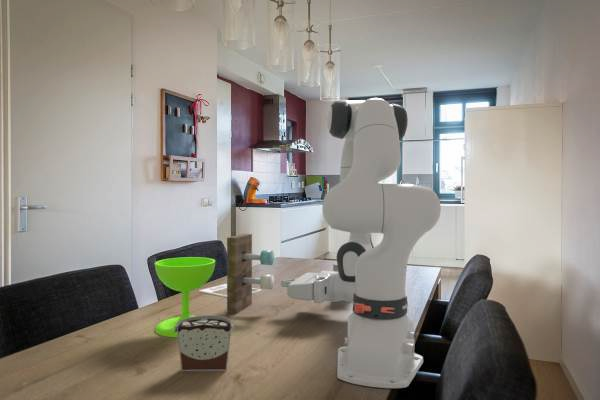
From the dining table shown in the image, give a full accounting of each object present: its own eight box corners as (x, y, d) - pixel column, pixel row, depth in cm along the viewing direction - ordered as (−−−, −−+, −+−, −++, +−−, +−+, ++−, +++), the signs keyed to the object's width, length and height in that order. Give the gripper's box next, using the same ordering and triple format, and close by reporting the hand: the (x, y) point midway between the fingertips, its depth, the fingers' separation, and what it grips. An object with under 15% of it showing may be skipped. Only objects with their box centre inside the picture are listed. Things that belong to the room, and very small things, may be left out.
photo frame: (227, 283, 172) (262, 289, 162) (227, 285, 172) (262, 292, 162) (198, 289, 160) (234, 297, 150) (198, 292, 160) (234, 300, 150)
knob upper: (274, 263, 137) (274, 249, 137) (269, 266, 133) (269, 251, 132) (237, 261, 140) (237, 248, 140) (231, 264, 136) (231, 250, 136)
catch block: (251, 303, 143) (251, 234, 143) (236, 313, 132) (236, 237, 131) (243, 303, 144) (243, 233, 144) (227, 312, 133) (227, 237, 132)
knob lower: (274, 287, 137) (274, 273, 137) (269, 290, 133) (269, 276, 133) (237, 285, 141) (237, 271, 141) (231, 287, 136) (231, 273, 136)
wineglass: (153, 322, 123) (153, 258, 123) (210, 316, 129) (210, 255, 129) (156, 340, 108) (155, 268, 108) (220, 333, 114) (220, 264, 114)
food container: (237, 359, 97) (237, 314, 97) (233, 370, 91) (233, 322, 90) (181, 359, 96) (181, 314, 96) (174, 371, 90) (173, 323, 90)
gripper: (334, 269, 140) (293, 266, 144) (318, 282, 120) (271, 278, 124) (334, 288, 140) (292, 285, 144) (318, 304, 120) (271, 300, 124)
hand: (282, 282), depth 134 cm, fingers closed
